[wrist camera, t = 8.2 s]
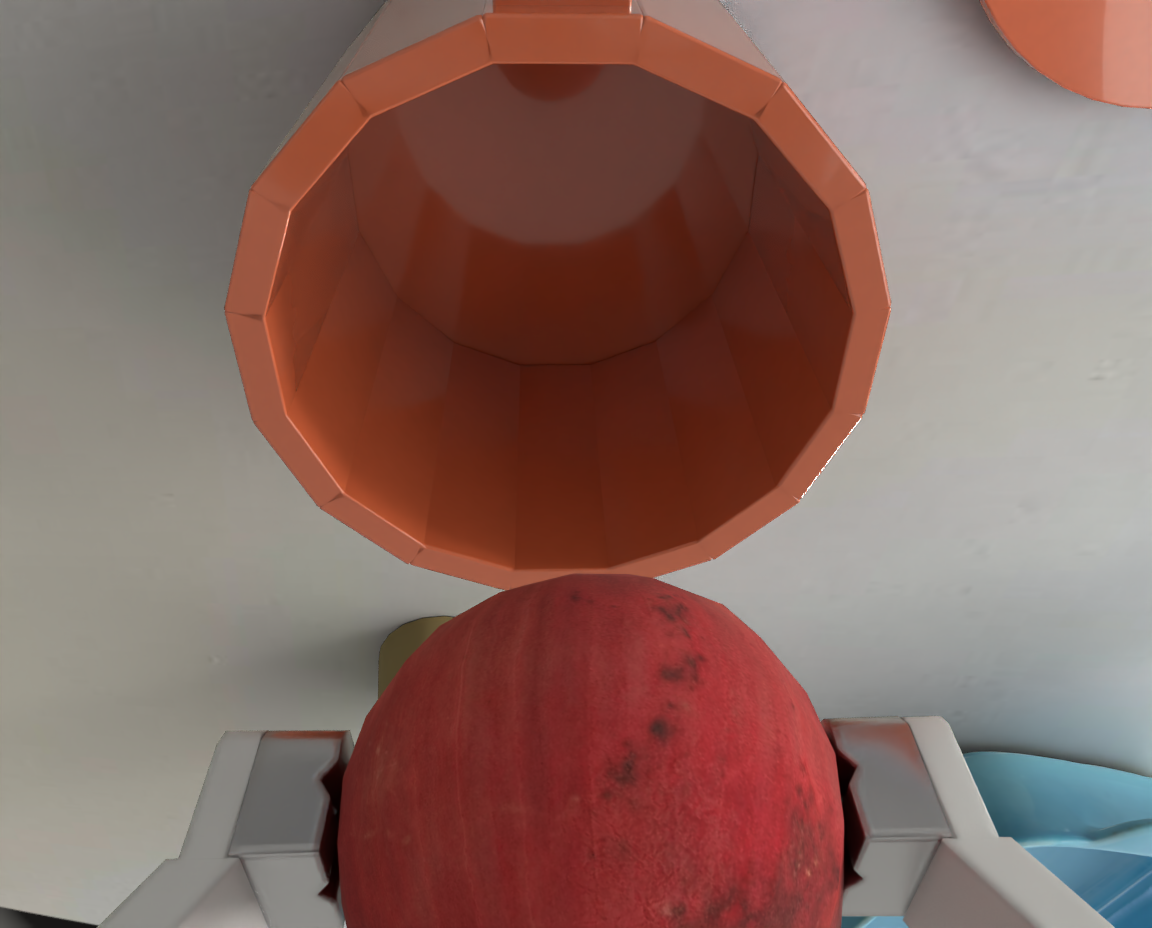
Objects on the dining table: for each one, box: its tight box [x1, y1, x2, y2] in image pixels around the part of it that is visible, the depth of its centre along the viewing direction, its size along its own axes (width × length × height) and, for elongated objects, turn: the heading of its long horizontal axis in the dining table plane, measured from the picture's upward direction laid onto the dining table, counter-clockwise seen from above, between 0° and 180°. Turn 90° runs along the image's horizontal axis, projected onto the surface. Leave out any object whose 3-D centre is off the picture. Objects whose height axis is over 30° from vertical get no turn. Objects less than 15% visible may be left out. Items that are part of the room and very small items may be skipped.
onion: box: [337, 573, 844, 928], centre depth 10 cm, size 6×6×8 cm
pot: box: [224, 0, 891, 590], centre depth 23 cm, size 14×19×10 cm
